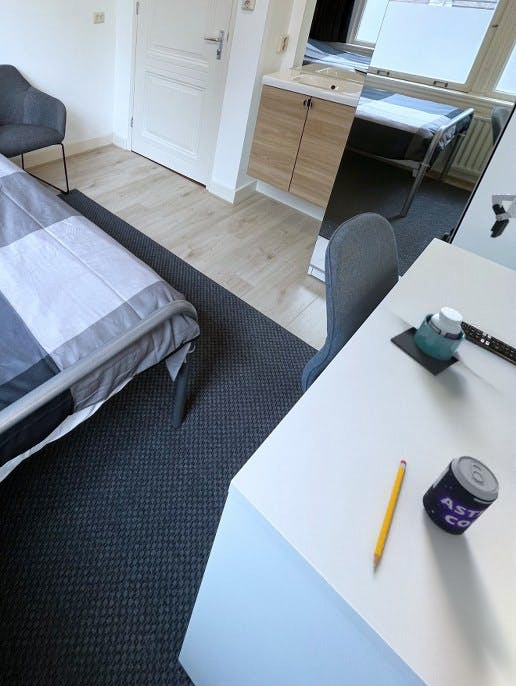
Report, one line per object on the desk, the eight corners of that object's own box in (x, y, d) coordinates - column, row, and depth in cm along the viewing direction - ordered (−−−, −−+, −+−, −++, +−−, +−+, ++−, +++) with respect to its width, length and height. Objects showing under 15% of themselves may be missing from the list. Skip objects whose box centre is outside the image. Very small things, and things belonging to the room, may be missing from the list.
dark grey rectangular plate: (470, 353, 94) (470, 351, 94) (435, 375, 88) (436, 374, 88) (425, 320, 102) (425, 319, 102) (390, 339, 96) (390, 338, 96)
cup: (459, 353, 94) (472, 334, 91) (440, 365, 90) (453, 346, 87) (425, 328, 99) (436, 309, 97) (406, 338, 96) (417, 319, 93)
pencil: (405, 464, 72) (407, 462, 71) (376, 570, 59) (378, 568, 58) (400, 461, 72) (402, 459, 72) (370, 565, 59) (371, 563, 59)
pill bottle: (447, 343, 95) (467, 312, 91) (447, 359, 91) (468, 328, 87) (419, 331, 98) (437, 301, 93) (419, 346, 94) (437, 315, 89)
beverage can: (419, 520, 65) (455, 478, 59) (420, 486, 69) (453, 444, 63) (464, 547, 62) (505, 506, 56) (461, 510, 66) (500, 469, 61)
